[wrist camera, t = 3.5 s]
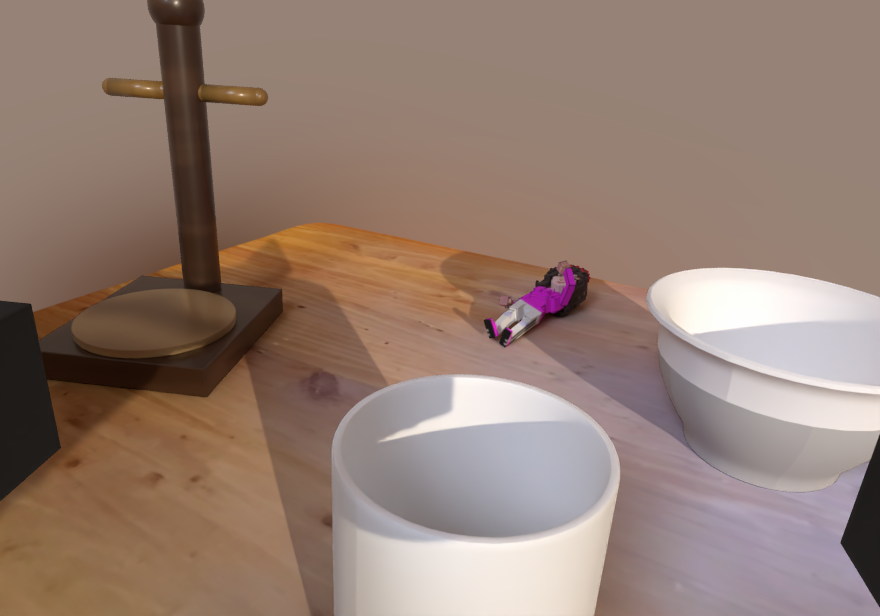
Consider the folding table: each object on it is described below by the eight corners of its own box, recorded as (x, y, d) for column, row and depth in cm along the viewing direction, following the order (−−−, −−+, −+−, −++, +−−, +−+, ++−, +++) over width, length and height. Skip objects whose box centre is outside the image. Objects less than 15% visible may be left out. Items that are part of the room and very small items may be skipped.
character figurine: (525, 365, 50) (600, 305, 58) (526, 305, 47) (604, 251, 56) (465, 344, 53) (544, 289, 61) (462, 286, 51) (545, 237, 59)
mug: (508, 531, 32) (532, 329, 28) (613, 792, 21) (677, 527, 17) (327, 548, 30) (323, 336, 26) (341, 841, 20) (338, 560, 15)
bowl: (948, 459, 40) (1004, 329, 36) (858, 592, 30) (923, 429, 26) (700, 359, 50) (725, 252, 47) (570, 432, 40) (590, 302, 37)
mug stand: (208, 397, 42) (166, -36, 32) (27, 376, 43) (-65, -48, 33) (285, 310, 55) (271, -17, 45) (145, 296, 56) (103, -26, 46)
